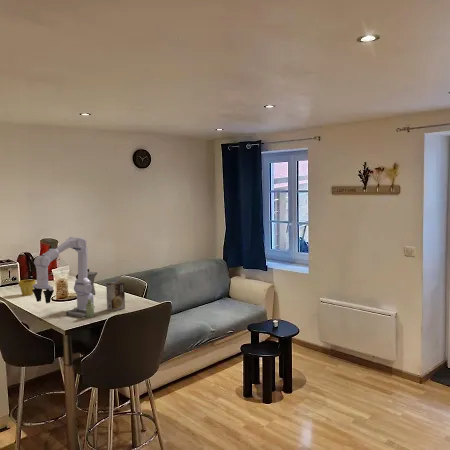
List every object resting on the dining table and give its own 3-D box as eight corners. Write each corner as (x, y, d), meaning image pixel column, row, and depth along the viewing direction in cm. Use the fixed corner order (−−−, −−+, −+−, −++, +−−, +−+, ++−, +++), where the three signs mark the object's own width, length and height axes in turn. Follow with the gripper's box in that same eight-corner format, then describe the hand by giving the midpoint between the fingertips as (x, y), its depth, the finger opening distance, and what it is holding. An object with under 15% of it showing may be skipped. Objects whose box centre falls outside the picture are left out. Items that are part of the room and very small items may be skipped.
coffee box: (120, 306, 269) (119, 280, 268) (125, 308, 264) (124, 282, 263) (106, 309, 263) (105, 282, 262) (111, 311, 258) (110, 284, 257)
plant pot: (24, 297, 295) (23, 283, 294) (16, 295, 301) (15, 281, 301) (38, 294, 303) (38, 280, 303) (30, 292, 310) (30, 278, 309)
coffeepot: (95, 292, 310) (94, 267, 308) (100, 294, 302) (100, 268, 301) (73, 295, 300) (73, 269, 299) (79, 297, 293) (78, 271, 291)
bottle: (90, 315, 250) (89, 298, 249) (95, 316, 247) (95, 299, 247) (84, 317, 246) (83, 299, 245) (89, 318, 244) (89, 300, 243)
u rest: (77, 311, 257) (77, 308, 257) (92, 314, 251) (91, 311, 251) (66, 315, 250) (66, 311, 250) (81, 317, 244) (81, 314, 244)
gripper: (27, 277, 239) (28, 302, 240) (45, 280, 232) (45, 305, 233) (38, 275, 245) (39, 299, 246) (56, 278, 238) (56, 302, 239)
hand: (43, 302), depth 240 cm, fingers open, 7 cm apart
